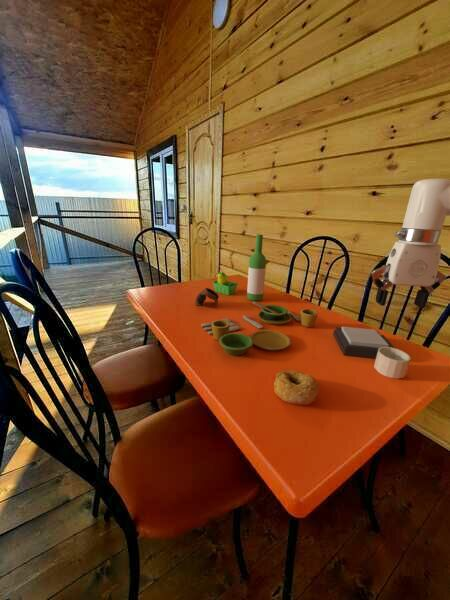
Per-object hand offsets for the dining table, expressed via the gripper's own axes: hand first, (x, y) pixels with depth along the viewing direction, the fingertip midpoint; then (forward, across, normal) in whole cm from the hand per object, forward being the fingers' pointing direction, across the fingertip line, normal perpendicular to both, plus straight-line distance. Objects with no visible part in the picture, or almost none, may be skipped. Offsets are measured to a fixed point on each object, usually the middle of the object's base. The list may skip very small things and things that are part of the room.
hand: (399, 305), depth 65 cm
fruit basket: (+18, -49, +59) cm, 79 cm away
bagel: (+18, -27, -15) cm, 36 cm away
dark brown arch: (+18, -56, +40) cm, 71 cm away
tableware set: (+18, -32, +17) cm, 40 cm away
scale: (+18, -1, +10) cm, 21 cm away
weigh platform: (+15, -2, +10) cm, 18 cm away
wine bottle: (+18, -34, +51) cm, 64 cm away
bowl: (+18, 0, -3) cm, 18 cm away
